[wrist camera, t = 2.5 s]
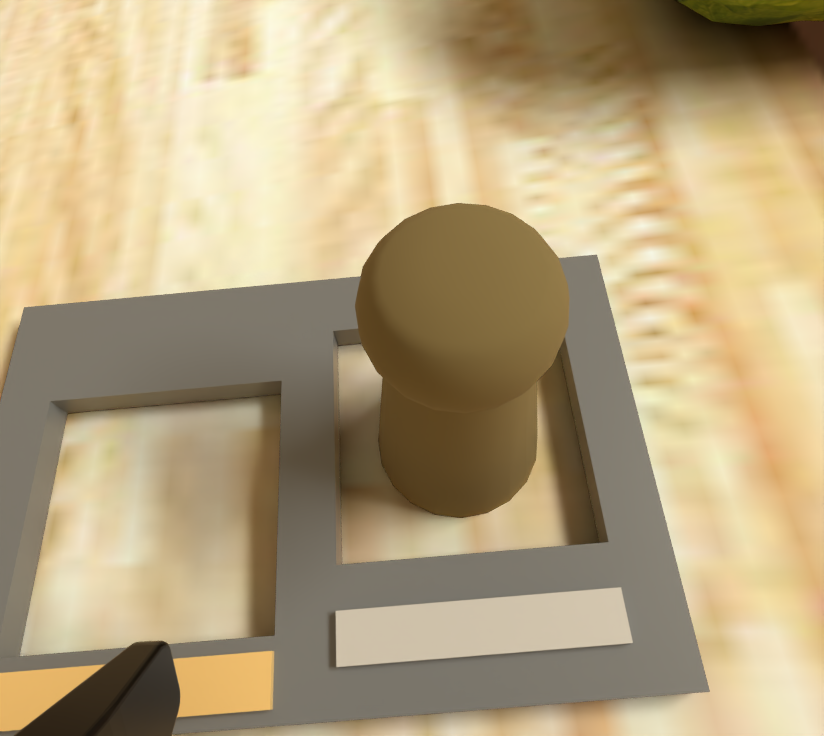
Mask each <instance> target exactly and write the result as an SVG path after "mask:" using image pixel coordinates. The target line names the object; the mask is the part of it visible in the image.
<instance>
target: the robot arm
mask: <svg viewBox="0 0 824 736" xmlns="http://www.w3.org/2000/svg"><path fill="white" fill-rule="evenodd" d="M179 706H180V687H179V683H178V678H177V674H176V670H175V665H174V661H173V657H172V652H171V649H170V646H169V645H168V643H166V642H164V641H144V642H136V643H134V644H132V645H130V646H129V647H127V648H126V649H125V650H124V651H122V652H121V653H120V654H118V655H117V656H116V657H114V658H113V659H112V660H111V661H109V662H108V663H107V664H105V665H104V666H103V667H102V668H100V669H99V670H98V671H96V672H95V673H94V674H92V675H91V676H90V677H89V678H87V679H86V680H85V681H83V682H82V683H81V684H80V685H78V686H77V687H76V688H74V689H73V690H72V691H70V692H69V693H68V694H67V695H65V696H64V697H63V698H61V699H60V700H59V701H57V702H56V703H55V704H54V705H52V706H51V707H50V708H48V709H47V710H46V711H45V712H43V713H42V714H41V715H39V716H38V717H37V718H35V719H34V720H33V721H32V722H30V723H29V724H28V725H26V726H25V727H24V728H22V729H21V730H20V731H19V732H17V733H16V734H15V735H13V736H172V733H173V729H174V726H175V722H176V718H177V715H178V711H179Z"/></svg>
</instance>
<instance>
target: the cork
mask: <svg viewBox="0 0 824 736" xmlns="http://www.w3.org/2000/svg"><path fill="white" fill-rule="evenodd" d="M569 299H570V297H569V289H568V283H567V280H566V278H565V275H564V272H563V269H562V266H561V263H560V260H559V258H558V257H557V255H556V254H555V253H554V252H553V250H552V249H551V248H550V247H549V245H548V244H547V243H546V242H545V240H544V239H543V238H542V237H541V236H540V234H539V233H538V232H537V231H536V230H535V229H534V228H532V227H531V226H529V225H528V224H526V223H525V222H523V221H522V220H520V219H519V218H517V217H516V216H514V215H513V214H511V213H508V212H505V211H502V210H499V209H496V208H493V207H490V206H487V205H476V204H462V203H456V204H450V205H444V206H438V207H432V208H429V209H426V210H424V211H422V212H420V213H418V214H415V215H413V216H411V217H409V218H406V219H405V220H403V221H402V222H401V223H400V224H399V225H397V226H396V227H395V228H394V229H393V230H391V231H390V232H389V233H388V234H387V235H385V236H384V237H383V238H382V239H381V240H380V241H379V243H378V244H377V245H376V247H375V248H374V250H373V252H372V253H371V255H370V256H369V258H368V259H367V261H366V263H365V264H364V266H363V269H362V273H361V278H360V282H359V287H358V291H357V297H356V302H355V311H356V317H357V324H358V330H359V336H360V339H361V342H362V346H363V348H364V349H365V351H366V353H367V355H368V357H369V358H370V360H371V362H372V364H373V365H374V367H375V369H376V371H377V372H378V373H379V374H380V375H381V376H382V377H383V379H382V394H381V409H380V423H379V438H378V442H379V449H380V455H381V462H382V465H383V467H384V469H385V471H386V473H387V475H388V477H389V479H390V480H391V482H392V484H393V486H394V487H395V488H396V489H397V490H398V491H399V492H400V493H401V494H402V495H404V496H405V497H406V498H407V499H408V500H409V501H410V502H411V503H412V504H414V505H416V506H419V507H421V508H423V509H425V510H427V511H429V512H431V513H433V514H436V515H444V516H451V517H459V518H463V517H468V516H474V515H479V514H484V513H488V512H490V511H492V510H493V509H495V508H497V507H499V506H501V505H503V504H504V503H506V502H508V501H510V500H511V499H512V497H513V496H514V495H515V494H516V493H517V492H518V491H519V490H520V489H521V488H522V486H523V485H524V484H525V483H526V482H527V480H528V477H529V475H530V472H531V470H532V468H533V465H534V463H535V461H536V450H537V381H538V380H539V379H540V377H541V376H542V375H543V374H544V373H545V372H546V371H547V370H548V369H549V368H550V367H551V366H552V365H553V362H554V360H555V358H556V355H557V353H558V351H559V349H560V346H561V344H562V342H563V339H564V337H565V334H566V332H567V329H568V326H569Z"/></svg>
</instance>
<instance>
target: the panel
mask: <svg viewBox="0 0 824 736" xmlns="http://www.w3.org/2000/svg"><path fill="white" fill-rule="evenodd" d="M559 260H560V263H561V266H562V269H563V272H564V275H565V278H566V280H567V283H568V289H569V297H570V299H569V326H568V329H567V332H566V334H565V337H564V339H563V342H562V344H561V346H560V354H561V359H562V364H563V368H564V373H565V378H566V383H567V388H568V393H569V398H570V402H571V407H572V412H573V417H574V422H575V427H576V431H577V436H578V441H579V446H580V451H581V456H582V460H583V465H584V470H585V475H586V480H587V485H588V490H589V494H590V499H591V504H592V509H593V514H594V519H595V523H596V528H597V533H598V538H599V543H592V544H580V545H568V546H557V547H545V548H533V549H521V550H509V551H497V552H485V553H473V554H461V555H450V556H438V557H426V558H414V559H402V560H390V561H378V562H366V563H354V564H343V565H342V538H341V486H340V434H339V383H338V345H349V344H360V343H362V342H361V339H360V336H359V330H358V324H357V317H356V311H355V302H356V297H357V291H358V287H359V282H360V278H361V277H350V278H339V279H328V280H317V281H306V282H296V283H285V284H274V285H263V286H252V287H241V288H231V289H220V290H209V291H198V292H187V293H176V294H165V295H155V296H144V297H133V298H122V299H111V300H100V301H89V302H79V303H68V304H57V305H46V306H35V307H24V310H23V314H22V318H21V322H20V326H19V330H18V334H17V338H16V341H15V345H14V349H13V353H12V357H11V361H10V365H9V369H8V373H7V377H6V381H5V385H4V389H3V393H2V396H1V400H0V736H13V735H15V734H16V733H17V732H19V731H20V730H21V729H22V728H24V727H25V726H26V725H28V724H29V723H30V722H32V721H33V720H34V719H35V718H37V717H38V716H39V715H41V714H42V713H43V712H45V711H46V710H47V709H48V708H50V707H51V706H52V705H54V704H55V703H56V702H57V701H59V700H60V699H61V698H63V697H64V696H65V695H67V694H68V693H69V692H70V691H72V690H73V689H74V688H76V687H77V686H78V685H80V684H81V683H82V682H83V681H85V680H86V679H87V678H89V677H90V676H91V675H92V674H94V673H95V672H96V671H98V670H99V669H100V668H102V667H103V666H104V665H105V664H107V663H108V662H109V661H111V660H112V659H113V658H114V657H116V656H117V655H118V654H120V653H121V652H122V651H124V650H125V649H126V648H117V649H105V650H93V651H81V652H69V653H57V654H44V655H32V656H20V657H19V655H20V650H21V645H22V640H23V635H24V630H25V625H26V620H27V615H28V610H29V605H30V600H31V595H32V590H33V584H34V579H35V574H36V569H37V564H38V559H39V554H40V549H41V544H42V539H43V534H44V529H45V524H46V519H47V514H48V509H49V504H50V499H51V494H52V489H53V484H54V479H55V473H56V468H57V463H58V458H59V453H60V448H61V443H62V438H63V433H64V428H65V423H66V418H67V413H75V412H87V411H98V410H109V409H120V408H132V407H143V406H154V405H165V404H177V403H188V402H199V401H210V400H221V399H233V398H244V397H255V396H266V395H278V394H281V424H280V460H279V497H278V533H277V570H276V607H275V636H263V637H251V638H239V639H227V640H215V641H202V642H190V643H178V644H168V645H169V646H170V649H171V652H172V657H173V661H174V665H175V670H176V674H177V678H178V683H179V687H180V706H179V711H178V715H177V718H176V722H175V726H174V729H173V733H172V734H185V733H197V732H210V731H223V730H235V729H248V728H260V727H273V726H285V725H298V724H310V723H323V722H336V721H348V720H361V719H373V718H386V717H398V716H411V715H423V714H436V713H448V712H461V711H474V710H486V709H499V708H511V707H524V706H536V705H549V704H561V703H574V702H586V701H599V700H612V699H624V698H637V697H649V696H662V695H674V694H687V693H699V692H710V690H709V687H708V683H707V679H706V675H705V671H704V667H703V663H702V660H701V656H700V652H699V648H698V644H697V640H696V636H695V632H694V629H693V625H692V621H691V617H690V613H689V609H688V605H687V602H686V598H685V594H684V590H683V586H682V582H681V578H680V574H679V571H678V567H677V563H676V559H675V555H674V551H673V547H672V544H671V540H670V536H669V532H668V528H667V524H666V520H665V516H664V513H663V509H662V505H661V501H660V497H659V493H658V489H657V486H656V482H655V478H654V474H653V470H652V466H651V462H650V458H649V455H648V451H647V447H646V443H645V439H644V435H643V431H642V427H641V424H640V420H639V416H638V412H637V408H636V404H635V400H634V397H633V393H632V389H631V385H630V381H629V377H628V373H627V369H626V366H625V362H624V358H623V354H622V350H621V346H620V342H619V339H618V335H617V331H616V327H615V323H614V319H613V315H612V311H611V308H610V304H609V300H608V296H607V292H606V288H605V284H604V281H603V277H602V273H601V269H600V265H599V261H598V257H597V255H589V256H578V257H567V258H559Z"/></svg>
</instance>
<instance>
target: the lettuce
mask: <svg viewBox="0 0 824 736" xmlns="http://www.w3.org/2000/svg"><path fill="white" fill-rule="evenodd" d="M677 1H678V2H680V3H682V4H683V5H685V6H687V7H688V8H690V9H692V10H694V11H695V12H697V13H699V14H700V15H702V16H704V17H706V18H707V19H709V20H711V21H712V22H722V23H731V24H741V25H751V26H762V25H770V24H779V23H787V22H795V21H803V20H805V21H824V0H677Z"/></svg>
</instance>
